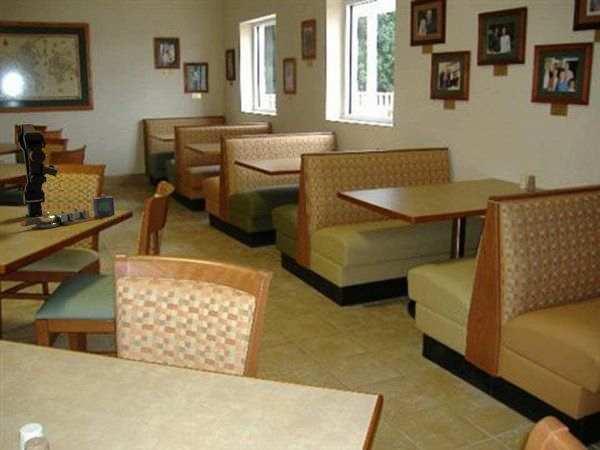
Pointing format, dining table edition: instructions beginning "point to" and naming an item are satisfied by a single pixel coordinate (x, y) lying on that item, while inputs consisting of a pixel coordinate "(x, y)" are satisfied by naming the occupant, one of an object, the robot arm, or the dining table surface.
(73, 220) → the rack
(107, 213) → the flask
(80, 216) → the spanner
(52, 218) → the grey red-tipped part
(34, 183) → the robot arm
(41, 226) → the nut base
